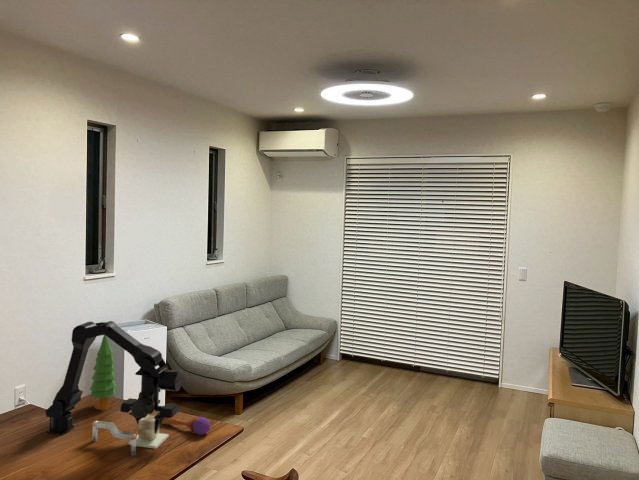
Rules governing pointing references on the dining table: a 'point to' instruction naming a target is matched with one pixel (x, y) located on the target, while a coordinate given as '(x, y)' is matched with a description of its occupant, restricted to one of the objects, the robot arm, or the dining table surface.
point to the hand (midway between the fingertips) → (148, 432)
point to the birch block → (147, 428)
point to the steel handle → (114, 433)
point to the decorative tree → (103, 376)
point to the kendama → (191, 424)
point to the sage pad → (150, 441)
